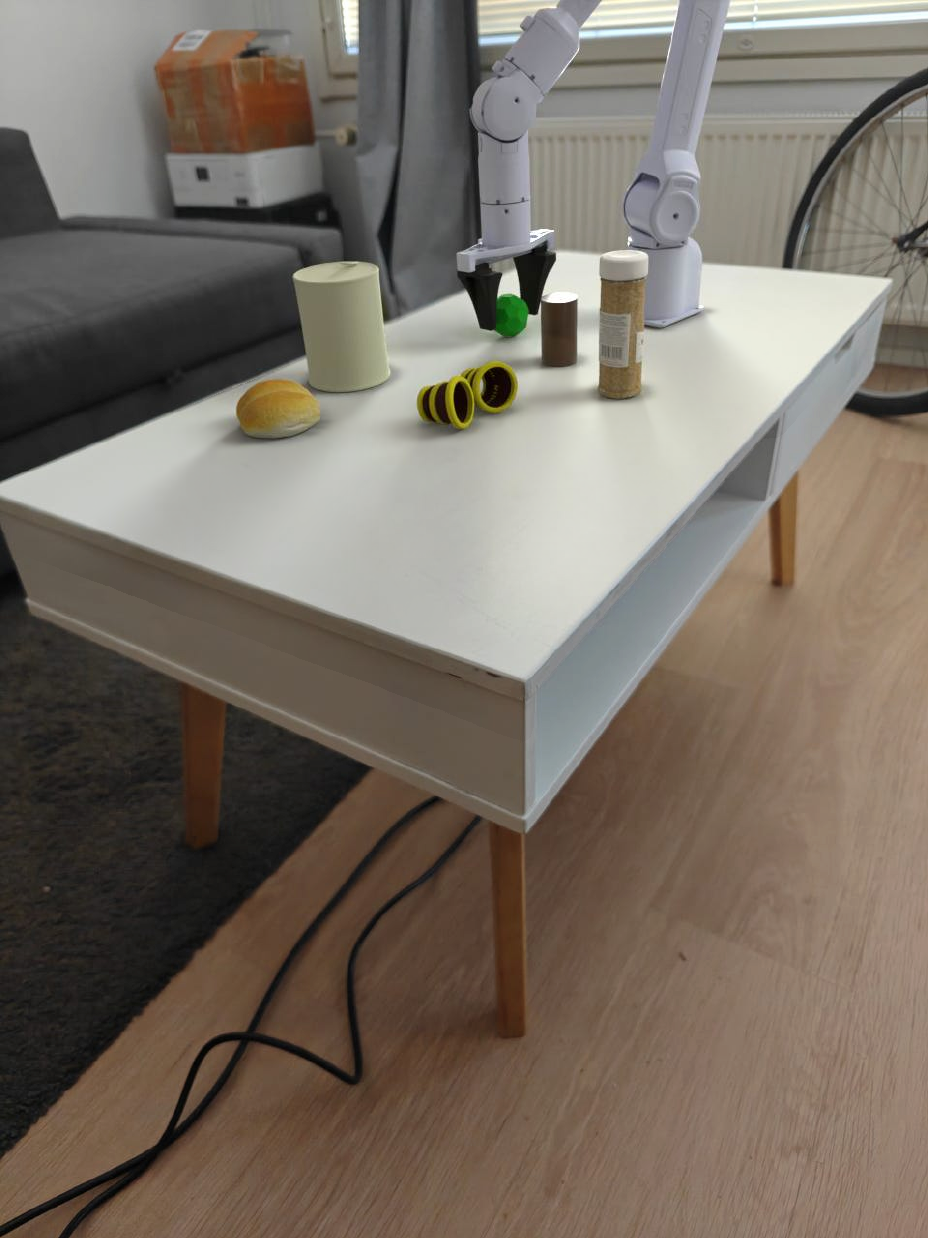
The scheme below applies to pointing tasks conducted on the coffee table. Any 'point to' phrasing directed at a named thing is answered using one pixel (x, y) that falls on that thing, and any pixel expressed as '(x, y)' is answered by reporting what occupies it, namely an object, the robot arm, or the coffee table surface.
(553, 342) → the walnut peg
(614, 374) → the sprinkles bottle
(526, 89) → the robot arm
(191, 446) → the coffee table surface
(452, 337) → the coffee table surface
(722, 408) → the coffee table surface
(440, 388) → the opera glasses
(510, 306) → the polyhedron
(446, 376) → the coffee table surface
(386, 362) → the can
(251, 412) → the bread roll
